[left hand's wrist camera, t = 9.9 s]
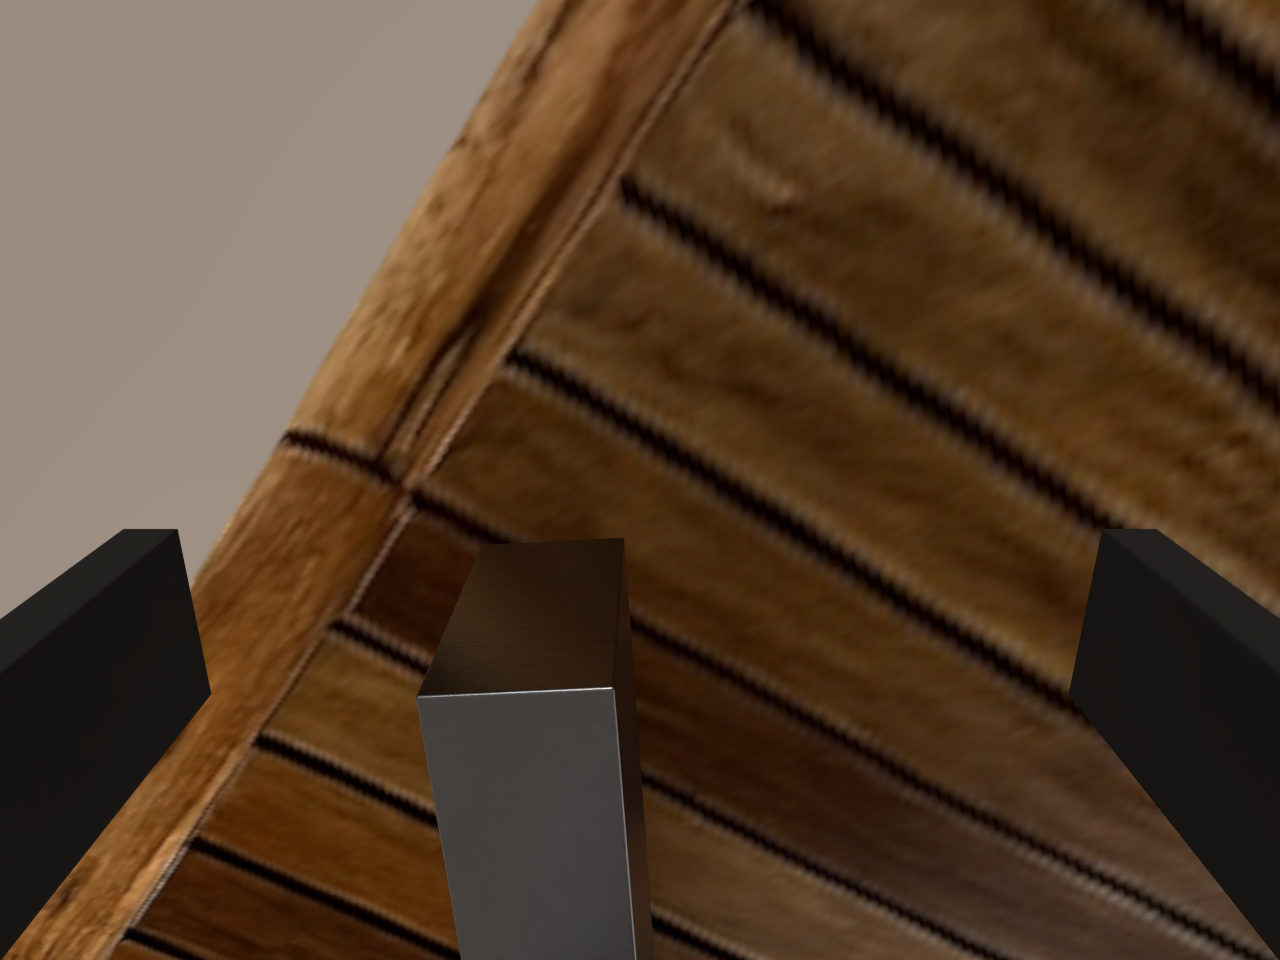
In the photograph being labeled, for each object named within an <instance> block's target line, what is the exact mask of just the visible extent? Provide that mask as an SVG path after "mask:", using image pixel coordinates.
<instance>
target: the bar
mask: <svg viewBox="0 0 1280 960" xmlns="http://www.w3.org/2000/svg"><path fill="white" fill-rule="evenodd" d="M416 700H417V706H418V711H419V717H420V723H421V729H422V735H423V740H424V746H425V752H426V758H427V764H428V769H429V775H430V781H431V787H432V793H433V798H434V804H435V810H436V816H437V821H438V827H439V833H440V839H441V845H442V850H443V856H444V862H445V868H446V874H447V879H448V885H449V891H450V897H451V902H452V908H453V914H454V920H455V926H456V931H457V937H458V943H459V949H460V955H461V960H654V949H653V935H652V921H651V907H650V893H649V879H648V865H647V851H646V837H645V823H644V810H643V796H642V782H641V768H640V754H639V740H638V726H637V712H636V698H635V684H634V671H633V657H632V643H631V629H630V615H629V601H628V587H627V573H626V559H625V545H624V539H623V538H610V539H591V540H571V541H552V542H533V543H513V544H494V545H482V546H481V548H480V550H479V553H478V555H477V557H476V560H475V562H474V564H473V567H472V569H471V571H470V574H469V576H468V578H467V581H466V583H465V585H464V588H463V590H462V592H461V595H460V597H459V599H458V601H457V604H456V606H455V608H454V611H453V613H452V615H451V618H450V620H449V622H448V625H447V627H446V629H445V632H444V634H443V636H442V639H441V641H440V643H439V646H438V648H437V650H436V652H435V655H434V657H433V659H432V662H431V664H430V666H429V669H428V671H427V673H426V676H425V678H424V680H423V683H422V685H421V687H420V690H419V692H418V694H417V697H416Z"/></svg>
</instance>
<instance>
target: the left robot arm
mask: <svg viewBox="0 0 1280 960" xmlns="http://www.w3.org/2000/svg"><path fill="white" fill-rule="evenodd" d="M210 695H211V690H210V685H209V681H208V676H207V671H206V666H205V661H204V656H203V651H202V646H201V641H200V637H199V632H198V627H197V622H196V617H195V612H194V607H193V602H192V597H191V593H190V588H189V583H188V578H187V573H186V568H185V563H184V558H183V553H182V549H181V544H180V539H179V534H178V529H123V530H122V531H120V532H119V533H118V534H116V535H115V536H113V537H112V538H111V539H109V540H108V541H107V542H105V543H104V544H103V545H101V546H100V547H98V548H97V549H96V550H94V551H93V552H92V553H90V554H89V555H88V556H86V557H85V558H83V559H82V560H81V561H79V562H78V563H77V564H75V565H74V566H72V567H71V568H70V569H68V570H67V571H66V572H64V573H63V574H61V575H60V576H59V577H57V578H56V579H55V580H53V581H52V582H51V583H49V584H48V585H46V586H45V587H44V588H42V589H41V590H40V591H38V592H37V593H35V594H34V595H33V596H31V597H30V598H29V599H27V600H26V601H25V602H23V603H22V604H20V605H19V606H18V607H16V608H15V609H14V610H12V611H11V612H10V613H8V614H7V615H5V616H4V617H3V618H1V619H0V960H2V958H3V957H4V956H5V954H6V953H7V952H8V951H9V949H10V948H11V947H12V946H13V944H14V943H15V942H16V941H17V939H18V938H19V937H20V935H21V934H22V933H23V932H24V930H25V929H26V928H27V927H28V925H29V924H30V923H31V922H32V920H33V919H34V918H35V916H36V915H37V914H38V913H39V911H40V910H41V909H42V908H43V906H44V905H45V904H46V903H47V901H48V900H49V899H50V897H51V896H52V895H53V894H54V892H55V891H56V890H57V889H58V887H59V886H60V885H61V884H62V882H63V881H64V880H65V879H66V877H67V876H68V875H69V873H70V872H71V871H72V870H73V868H74V867H75V866H76V865H77V863H78V862H79V861H80V860H81V858H82V857H83V856H84V854H85V853H86V852H87V851H88V849H89V848H90V847H91V846H92V844H93V843H94V842H95V841H96V839H97V838H98V837H99V835H100V834H101V833H102V832H103V830H104V829H105V828H106V827H107V825H108V824H109V823H110V822H111V820H112V819H113V818H114V817H115V815H116V814H117V813H118V811H119V810H120V809H121V808H122V806H123V805H124V804H125V803H126V801H127V800H128V799H129V798H130V796H131V795H132V794H133V792H134V791H135V790H136V789H137V787H138V786H139V785H140V784H141V782H142V781H143V780H144V779H145V777H146V776H147V775H148V773H149V772H150V771H151V770H152V768H153V767H154V766H155V765H156V763H157V762H158V761H159V760H160V758H161V757H162V756H163V754H164V753H165V752H166V751H167V749H168V748H169V747H170V746H171V744H172V743H173V742H174V741H175V739H176V738H177V737H178V736H179V734H180V733H181V732H182V730H183V729H184V728H185V727H186V725H187V724H188V723H189V722H190V720H191V719H192V718H193V717H194V715H195V714H196V713H197V711H198V710H199V709H200V708H201V706H202V705H203V704H204V703H205V701H206V700H207V699H208V698H209V696H210ZM1069 695H1070V696H1071V698H1072V699H1073V700H1074V701H1075V703H1076V704H1077V705H1078V706H1079V708H1080V709H1081V710H1082V711H1083V713H1084V714H1085V715H1086V717H1087V718H1088V719H1089V720H1090V722H1091V723H1092V724H1093V725H1094V727H1095V728H1096V729H1097V730H1098V732H1099V733H1100V734H1101V736H1102V737H1103V738H1104V739H1105V741H1106V742H1107V743H1108V744H1109V746H1110V747H1111V748H1112V749H1113V751H1114V752H1115V753H1116V754H1117V756H1118V757H1119V758H1120V760H1121V761H1122V762H1123V763H1124V765H1125V766H1126V767H1127V768H1128V770H1129V771H1130V772H1131V773H1132V775H1133V776H1134V777H1135V779H1136V780H1137V781H1138V782H1139V784H1140V785H1141V786H1142V787H1143V789H1144V790H1145V791H1146V792H1147V794H1148V795H1149V796H1150V798H1151V799H1152V800H1153V801H1154V803H1155V804H1156V805H1157V806H1158V808H1159V809H1160V810H1161V811H1162V813H1163V814H1164V815H1165V817H1166V818H1167V819H1168V820H1169V822H1170V823H1171V824H1172V825H1173V827H1174V828H1175V829H1176V830H1177V832H1178V833H1179V834H1180V835H1181V837H1182V838H1183V839H1184V841H1185V842H1186V843H1187V844H1188V846H1189V847H1190V848H1191V849H1192V851H1193V852H1194V853H1195V854H1196V856H1197V857H1198V858H1199V860H1200V861H1201V862H1202V863H1203V865H1204V866H1205V867H1206V868H1207V870H1208V871H1209V872H1210V873H1211V875H1212V876H1213V877H1214V879H1215V880H1216V881H1217V882H1218V884H1219V885H1220V886H1221V887H1222V889H1223V890H1224V891H1225V892H1226V894H1227V895H1228V896H1229V897H1230V899H1231V900H1232V901H1233V903H1234V904H1235V905H1236V906H1237V908H1238V909H1239V910H1240V911H1241V913H1242V914H1243V915H1244V916H1245V918H1246V919H1247V920H1248V922H1249V923H1250V924H1251V925H1252V927H1253V928H1254V929H1255V930H1256V932H1257V933H1258V934H1259V935H1260V937H1261V938H1262V939H1263V941H1264V942H1265V943H1266V944H1267V946H1268V947H1269V948H1270V949H1271V951H1272V952H1273V953H1274V954H1275V956H1276V957H1277V958H1278V960H1280V619H1279V618H1277V617H1276V616H1275V615H1273V614H1272V613H1270V612H1269V611H1268V610H1266V609H1265V608H1264V607H1262V606H1261V605H1260V604H1258V603H1257V602H1255V601H1254V600H1253V599H1251V598H1250V597H1249V596H1247V595H1246V594H1245V593H1243V592H1242V591H1240V590H1239V589H1238V588H1236V587H1235V586H1234V585H1232V584H1231V583H1229V582H1228V581H1227V580H1225V579H1224V578H1223V577H1221V576H1220V575H1219V574H1217V573H1216V572H1214V571H1213V570H1212V569H1210V568H1209V567H1208V566H1206V565H1205V564H1203V563H1202V562H1201V561H1199V560H1198V559H1197V558H1195V557H1194V556H1193V555H1191V554H1190V553H1188V552H1187V551H1186V550H1184V549H1183V548H1182V547H1180V546H1179V545H1177V544H1176V543H1175V542H1173V541H1172V540H1171V539H1169V538H1168V537H1167V536H1165V535H1164V534H1162V533H1161V532H1160V531H1158V530H1157V529H1102V534H1101V539H1100V544H1099V549H1098V553H1097V558H1096V563H1095V568H1094V573H1093V578H1092V583H1091V588H1090V593H1089V597H1088V602H1087V607H1086V612H1085V617H1084V622H1083V627H1082V632H1081V637H1080V641H1079V646H1078V651H1077V656H1076V661H1075V666H1074V671H1073V676H1072V681H1071V685H1070V690H1069Z"/></svg>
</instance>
